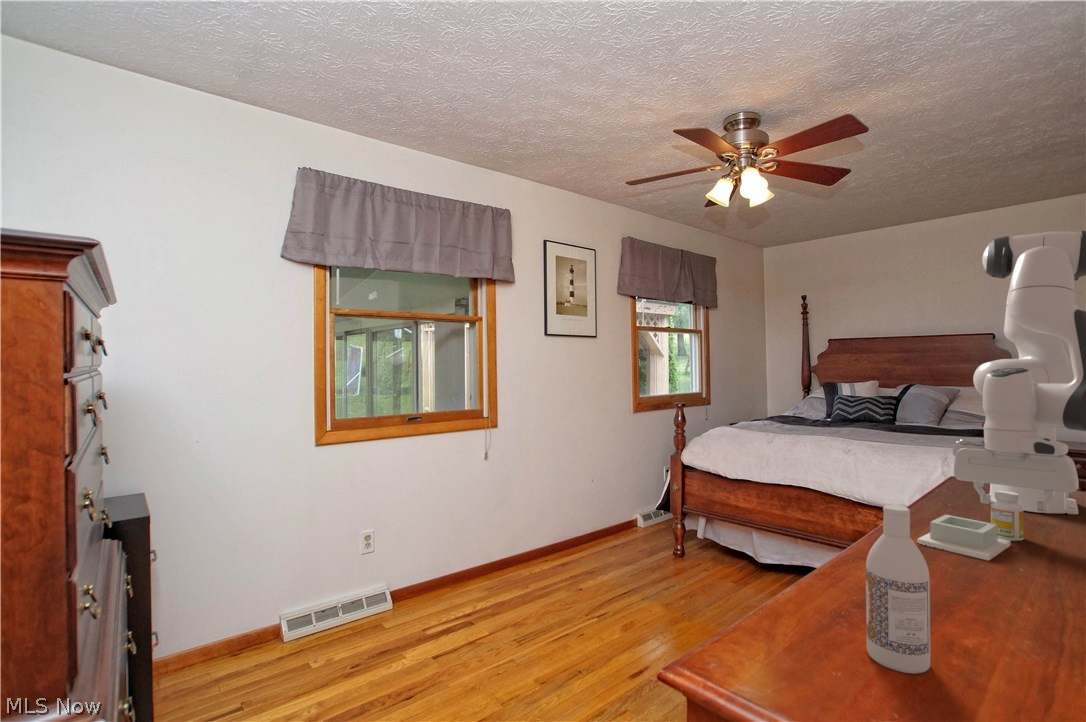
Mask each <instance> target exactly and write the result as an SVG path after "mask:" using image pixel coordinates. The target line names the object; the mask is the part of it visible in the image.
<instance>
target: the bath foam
mask: <svg viewBox="0 0 1086 722" xmlns="http://www.w3.org/2000/svg"><path fill="white" fill-rule="evenodd" d="M882 511H883V517H882V518H883V520H882V521H883V522H882V526H883V533H882V534H881V535H880V537H878V539H877V540H876V542H874V544H873V545H872V547H871V548H870V550H869V552H868V554H867V557H866V563H865V605H866V606H865V611H866V612H865V617H866V618H865V619H866V625H865V627H866V629H865V630H866V631H865V632H866V651H867V654H868V655H869V656H870V658H871V659H873V660H874V661H875V662H876V663H877V664H880V666H883V667H885V668H887V669H890V670H893V671H897V672H898V673H899V672H900V673H904V674H913V675H914V674H923V673H926V672H927V671H929V669H930V667H931V594H930V593H931V587H930V586H931V585H930V584H931V582H930V572H929V566H928V564H927V561H926V558H925V557H924V556H923V553H922V552H921V550H920V549H919V548H918V546H917V545H916V543H915V542H914V540H912V538H911V510H910V509H909V508H908V507H906V506H901V505H896V504H895V505H894V504H885V505H884V506H883V507H882Z"/></svg>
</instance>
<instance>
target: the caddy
mask: <svg viewBox="0 0 1086 722" xmlns="http://www.w3.org/2000/svg"><path fill="white" fill-rule="evenodd" d="M916 541H917V543H919V544H918V545H921V544H922V546H925V545H926V546H925V547H931V548H934V547H935V548H934V549H939V550H942V549H943V551H947V552H951V553H955V554H960V555H963V556H967V557H972V558H977V559H980V560H984V561H991V560H992V559H994V558H995V557H996V556H997V555H999V554H1001V553H1003V551H1005V550H1006V549H1008V548H1009V547H1011V542H1012V541H1009V540H1004V539H1000V538H998V526H997V524H992V523H991V522H986V521H981V520H975V519H969V518H964V517H960V516H956V515H950V514H945V515H942V516H940V517H937V518H936V519H934V520H932V521H930V522H929V532H928V533H926V534H924V535H922V536H920V537H918V538H917V540H916ZM917 543H916V544H917Z"/></svg>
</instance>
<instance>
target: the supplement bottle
mask: <svg viewBox="0 0 1086 722" xmlns="http://www.w3.org/2000/svg"><path fill="white" fill-rule="evenodd" d="M995 499H996V501H993V502H991V503H990V523H992V524H997V526H998V538H1000V539H1004V540H1009V541H1011V542H1020V541H1021V542H1022V541H1023V540H1024V536H1025V535H1024V510H1023V507H1022V506H1021V505H1020V504H1018V503H1017V502H1018V501H1019V495H1018V494H1017V493H1013V492H1006V491H996V492H995Z"/></svg>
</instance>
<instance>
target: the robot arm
mask: <svg viewBox="0 0 1086 722" xmlns="http://www.w3.org/2000/svg"><path fill="white" fill-rule="evenodd" d="M981 260H982V261H981V262H982V266H983V269H984V270H985V273H986V274H987V275H988V276H990V277H992V278H996V279H1003V280H1005V279H1006V278H1009V279H1010V282H1009V288H1008V291H1007V297H1006V306H1005V316H1004V323H1003V324H1004V325H1003V334H1004V336H1005V338H1006V339H1007V340H1008V341H1010V342H1012V343H1013V344H1014V345H1015V347H1016V350H1017V353H1018V358H1002V359H1000V358H999V359H996V360H992V361H987V362H984V363H981V364H980V365H979V366H978V367H977V368H976V370H975V371H974V373H973V378H972V379H973V380H972V381H973V382H972V383H973V385H974V387H975V388H974V389H975V390H976V391H977V392H978V394H980V396H982V410H983V412H984V415H985V422H984V424H983V440H976V439H975V440H969V439H960V440H958V441H956V442H954V443H953V444H952V455H953V456H954V460H953V461H954V462H953V476H954V477H955V478H956V480H958V481H964V482H965V481H966V482H973V488H974V489H975V491H976V493H978V495H979V499H980V501H979V502H980V504H987V505H988V504H990V505H991V502H993V501H996V499H995V492H996V491H1006V492H1013V493H1017V494H1018V495H1019V501H1018V502H1017V503H1018V504H1020V505H1021V506H1022V507H1023V512H1025V511H1026V512H1032V513H1040V514H1042V513H1043V514H1044V513H1045V514H1065V513H1067V514H1068V515H1079V508H1078V503H1077V500H1076V499H1074V498H1071V493H1074V492H1076V491H1077V490H1078V489H1079V485H1080V484H1079V477H1078V471H1077V467H1076V464H1075V461H1074V460H1073V459H1072V458H1071V457H1070V456H1069V455H1067V454H1068V452H1069V445H1068V444H1067V443H1064V442H1062V441H1057V429H1068V430H1074V431H1081V432H1086V311H1085V310H1082V309H1080V307H1078V305H1077V304H1076V300H1075V282H1077V281H1078V280H1079V279H1080V278H1082V277H1085V276H1086V230H1080V231H1045V232H1044V231H1043V232H1041V233H1040V232H1039V233H1030V234H1027V233H1026V234H1022V235H1014V236H1008V235H1007V236H1001V237H997V238H994V239H993V240H991V241H990V242H989V243H988V245H987V246H986V247H985V249H984V251H983V254H982V259H981ZM1064 342H1065V343H1066V344H1067V346H1068V351H1069V355H1068V354H1067V350H1066V348H1065V346H1064ZM1069 356H1070V357H1069ZM985 484H990V485H989V486H990V488H989V493H988V494H987V493H986V492H985V490H984V489H983V487H984V486H985Z"/></svg>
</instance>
